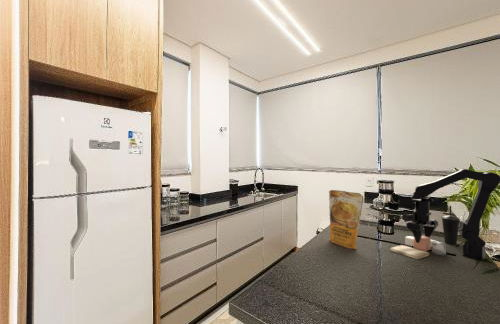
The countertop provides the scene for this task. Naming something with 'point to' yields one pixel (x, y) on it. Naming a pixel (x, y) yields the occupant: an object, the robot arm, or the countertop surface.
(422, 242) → the terracotta block
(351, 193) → the pancake mix bag
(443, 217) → the drinking cup
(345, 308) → the countertop surface
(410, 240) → the cream cube
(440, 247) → the grey cylinder
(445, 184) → the robot arm
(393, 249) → the birch board
